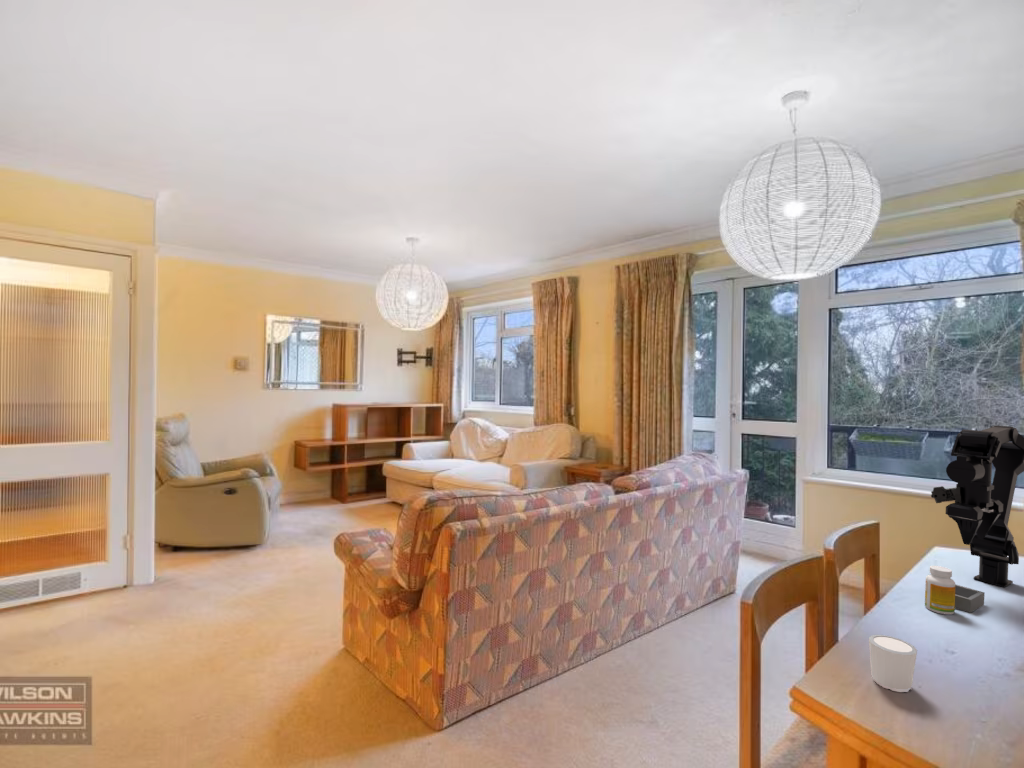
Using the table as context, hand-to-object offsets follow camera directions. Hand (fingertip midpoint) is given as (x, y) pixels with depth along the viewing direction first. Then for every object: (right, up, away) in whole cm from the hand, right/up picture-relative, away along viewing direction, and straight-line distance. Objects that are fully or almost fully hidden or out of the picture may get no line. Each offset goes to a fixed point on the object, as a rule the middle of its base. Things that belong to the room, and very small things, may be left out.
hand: (973, 541), depth 132 cm
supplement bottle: (-17, -13, -10) cm, 24 cm away
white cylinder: (-50, -13, -40) cm, 66 cm away
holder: (-10, -13, -6) cm, 17 cm away
